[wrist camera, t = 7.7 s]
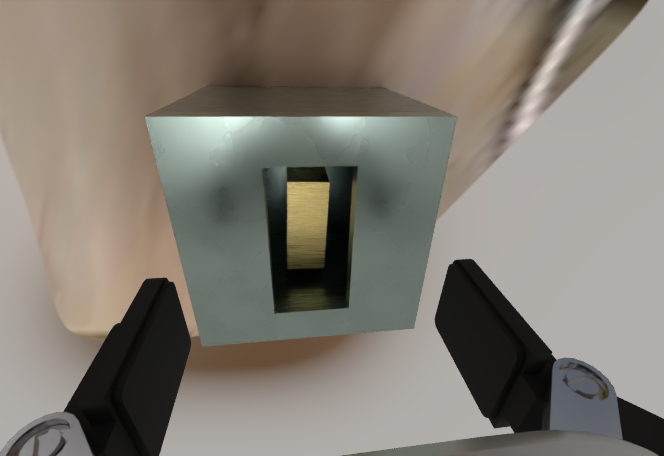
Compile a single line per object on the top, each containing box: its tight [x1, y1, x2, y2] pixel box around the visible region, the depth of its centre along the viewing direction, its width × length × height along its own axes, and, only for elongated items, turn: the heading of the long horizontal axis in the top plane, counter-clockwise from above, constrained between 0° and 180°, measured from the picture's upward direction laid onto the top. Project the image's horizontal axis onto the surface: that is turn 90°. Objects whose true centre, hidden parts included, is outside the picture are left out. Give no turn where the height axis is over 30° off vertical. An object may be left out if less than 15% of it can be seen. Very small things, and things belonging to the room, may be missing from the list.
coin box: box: [145, 86, 457, 346], centre depth 20 cm, size 12×12×11 cm
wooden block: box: [287, 167, 330, 269], centre depth 22 cm, size 6×2×6 cm
